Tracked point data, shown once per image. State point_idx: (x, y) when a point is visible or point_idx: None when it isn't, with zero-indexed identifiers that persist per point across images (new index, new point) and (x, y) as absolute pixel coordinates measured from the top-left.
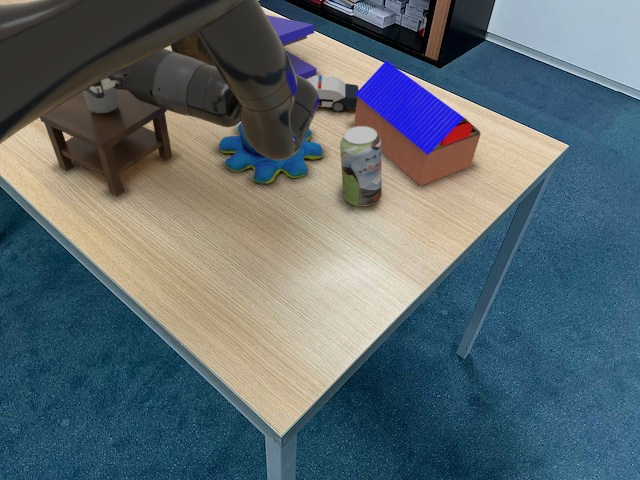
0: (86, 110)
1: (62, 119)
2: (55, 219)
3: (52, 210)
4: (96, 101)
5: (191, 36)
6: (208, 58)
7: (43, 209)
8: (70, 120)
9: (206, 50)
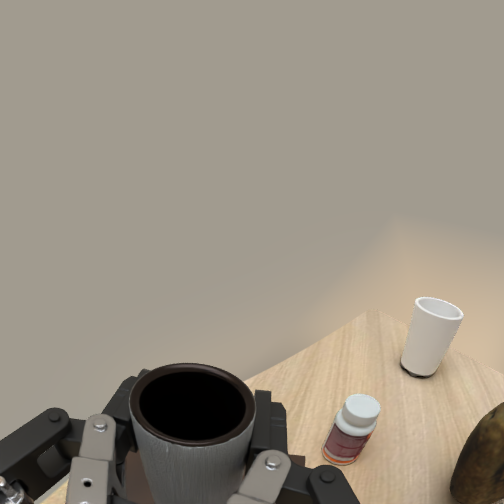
0: None
1: (133, 456)
2: (49, 500)
3: (65, 494)
4: (154, 501)
5: (502, 453)
6: (493, 489)
7: (66, 484)
8: (133, 469)
9: (501, 479)
